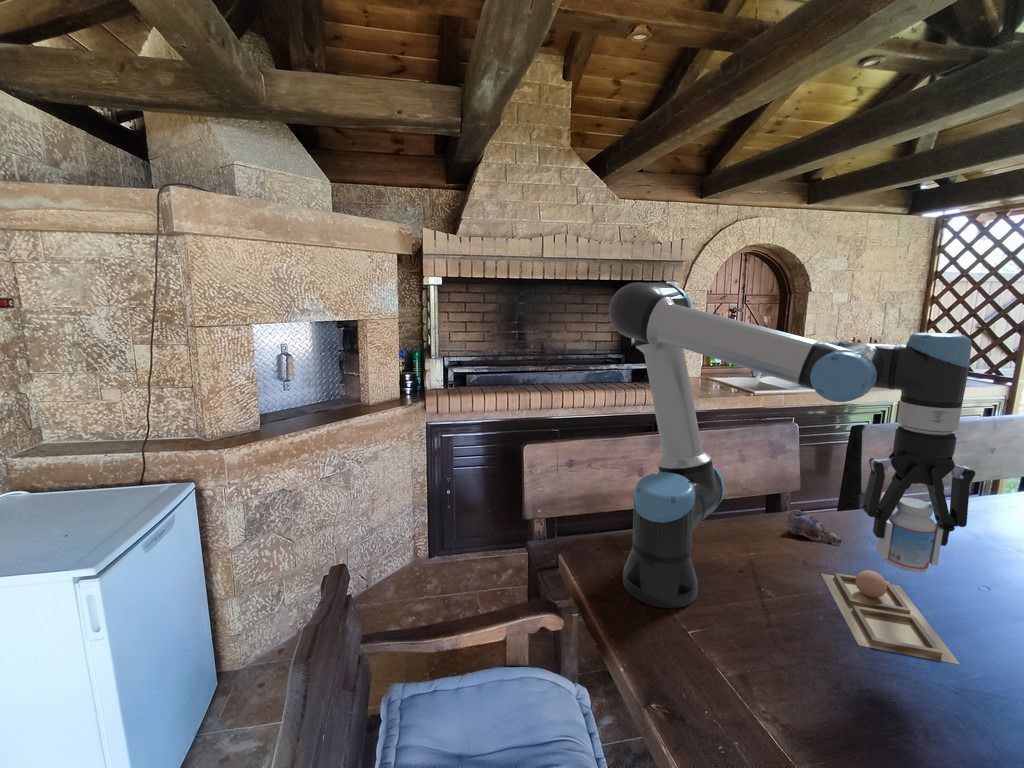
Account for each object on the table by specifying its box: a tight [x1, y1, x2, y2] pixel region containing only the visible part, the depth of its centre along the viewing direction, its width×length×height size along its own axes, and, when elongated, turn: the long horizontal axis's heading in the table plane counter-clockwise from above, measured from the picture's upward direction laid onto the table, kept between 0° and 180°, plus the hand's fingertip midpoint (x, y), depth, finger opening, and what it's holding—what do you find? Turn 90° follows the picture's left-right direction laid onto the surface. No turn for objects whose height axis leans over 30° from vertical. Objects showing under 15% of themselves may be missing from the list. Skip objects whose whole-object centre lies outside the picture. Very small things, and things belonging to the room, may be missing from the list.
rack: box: [820, 572, 961, 666], centre depth 88 cm, size 14×22×2 cm, turn 161°
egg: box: [855, 569, 887, 598], centre depth 93 cm, size 5×5×5 cm
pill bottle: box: [883, 496, 937, 573], centre depth 80 cm, size 6×6×11 cm
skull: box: [786, 509, 842, 546], centre depth 117 cm, size 12×8×6 cm, turn 30°
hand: (905, 557), depth 80 cm, fingers closed on pill bottle, 6 cm apart
